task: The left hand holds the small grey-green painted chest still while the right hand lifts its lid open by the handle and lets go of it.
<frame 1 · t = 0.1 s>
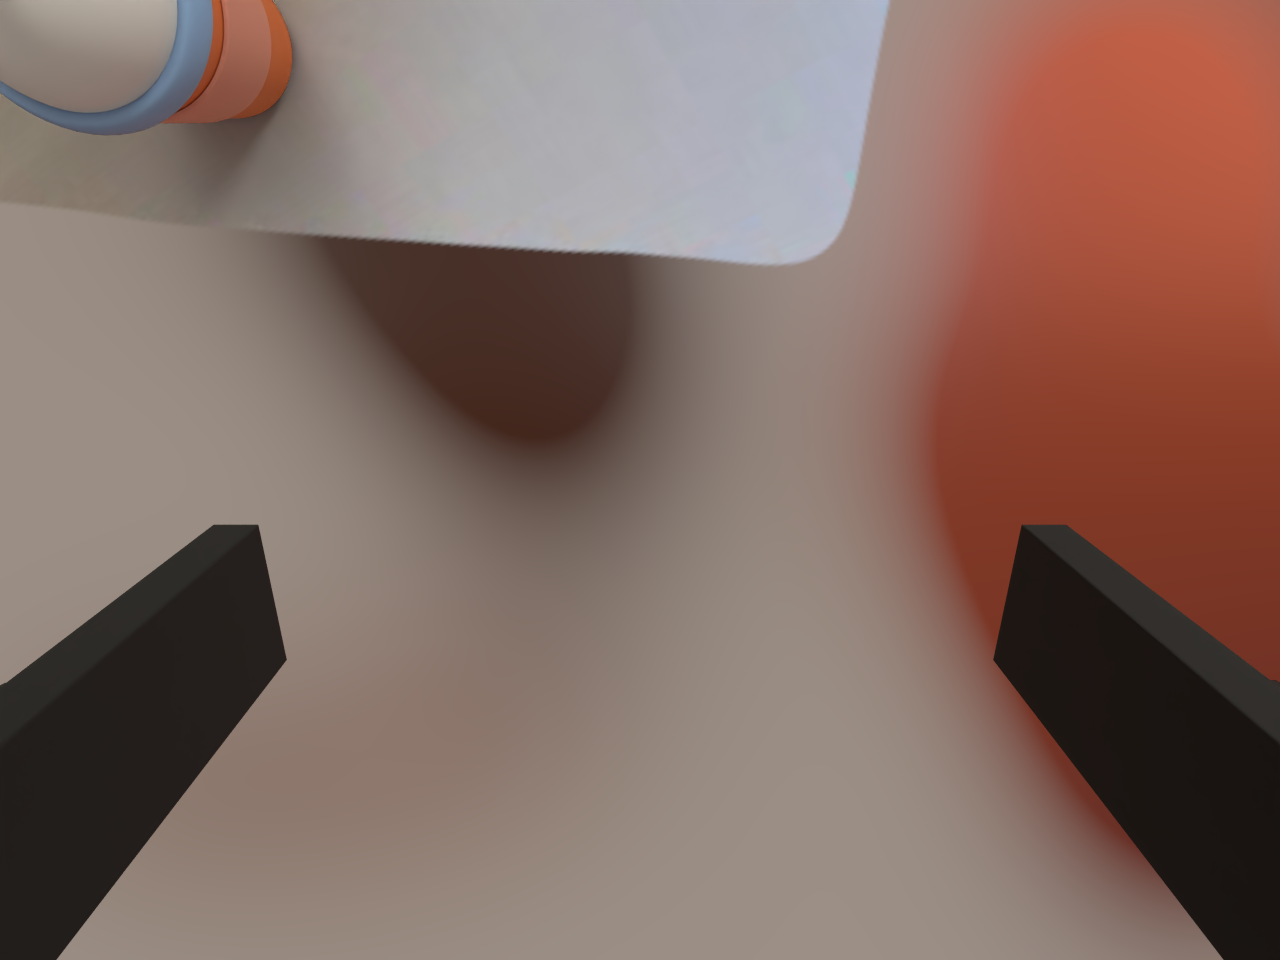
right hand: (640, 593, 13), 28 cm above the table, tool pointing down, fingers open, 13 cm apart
cup with straw: (230, 46, 34), on the table
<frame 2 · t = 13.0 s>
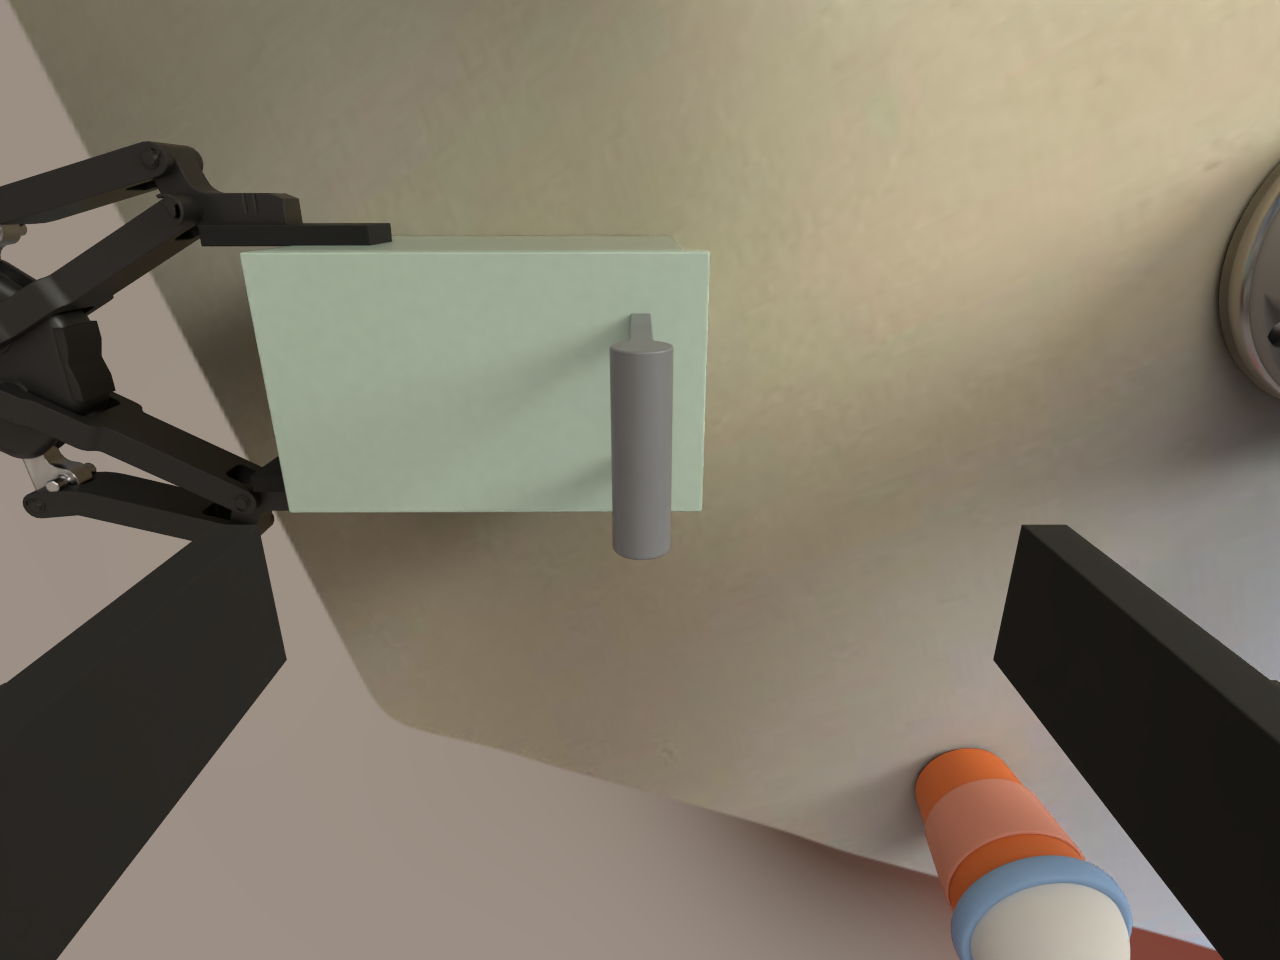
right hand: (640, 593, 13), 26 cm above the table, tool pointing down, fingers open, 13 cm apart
left hand: (396, 360, 31), fingers closed on chest, 9 cm apart
chest: (523, 333, 37), on the table, touching left hand
lid: (465, 416, 23), point 15 cm above the table, hinge at 0.0°
cup with straw: (959, 781, 48), on the table
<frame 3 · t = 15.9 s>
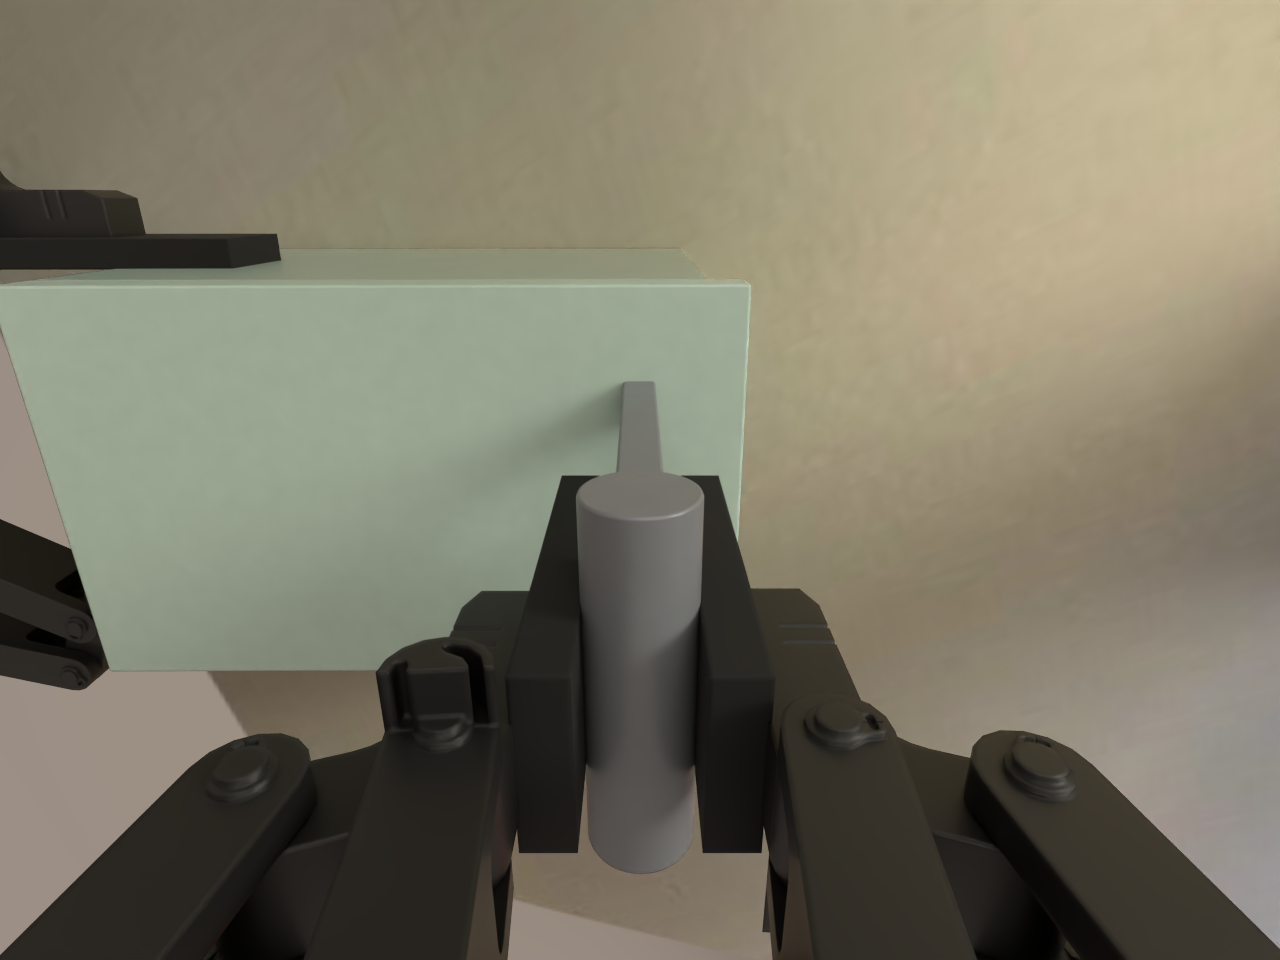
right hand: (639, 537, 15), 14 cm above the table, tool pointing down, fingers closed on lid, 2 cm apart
chest: (482, 378, 28), on the table, touching left hand
lid: (344, 564, 14), point 15 cm above the table, hinge at 0.1°, touching right hand
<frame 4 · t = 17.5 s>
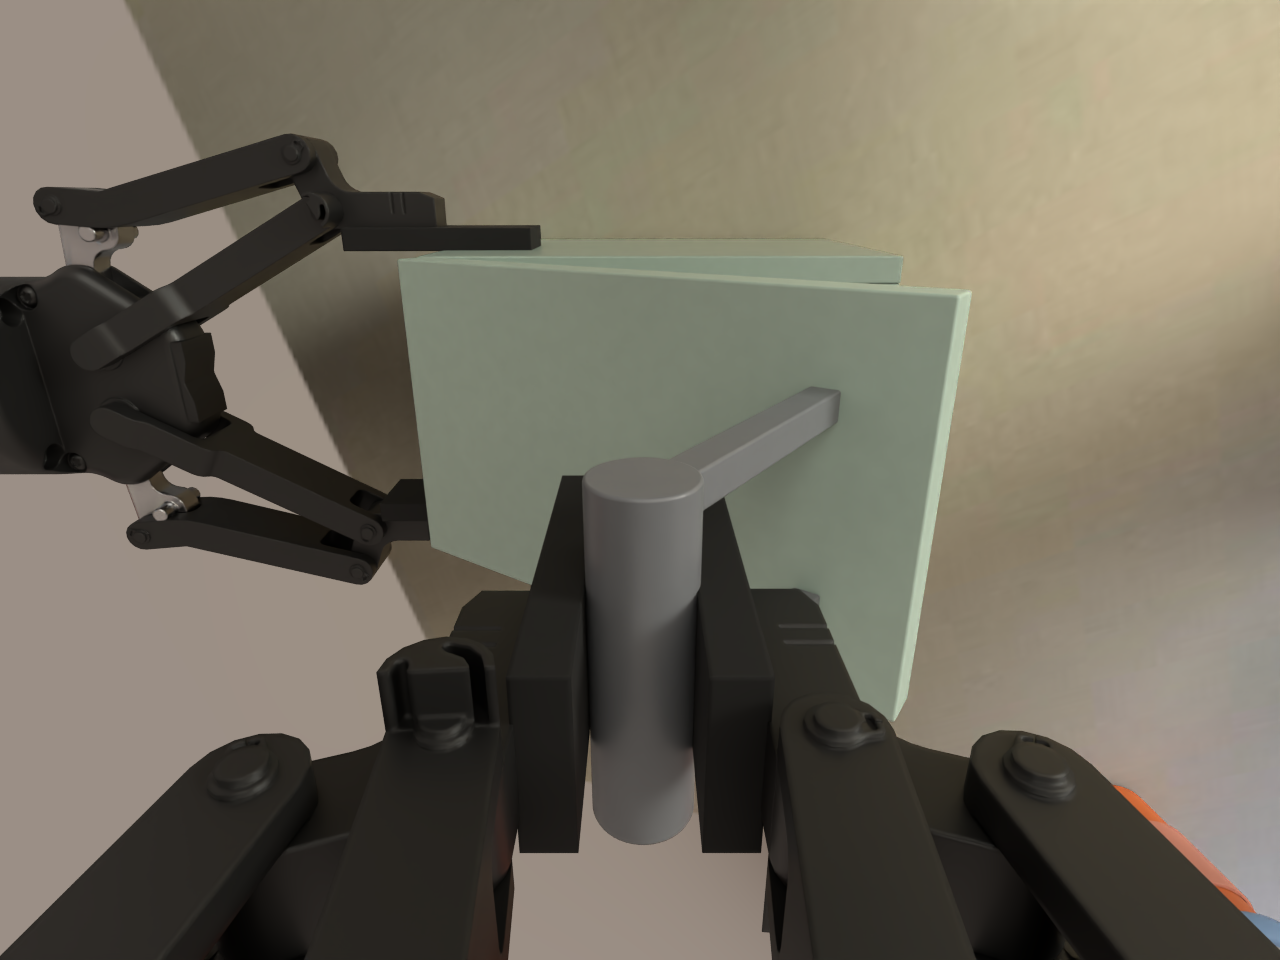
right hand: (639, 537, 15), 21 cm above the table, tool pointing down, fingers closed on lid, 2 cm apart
left hand: (542, 377, 28), fingers closed on chest, 10 cm apart
chest: (656, 345, 34), on the table, touching left hand
lid: (527, 500, 17), point 19 cm above the table, hinge at 33.8°, touching right hand
cup with straw: (1091, 818, 45), on the table
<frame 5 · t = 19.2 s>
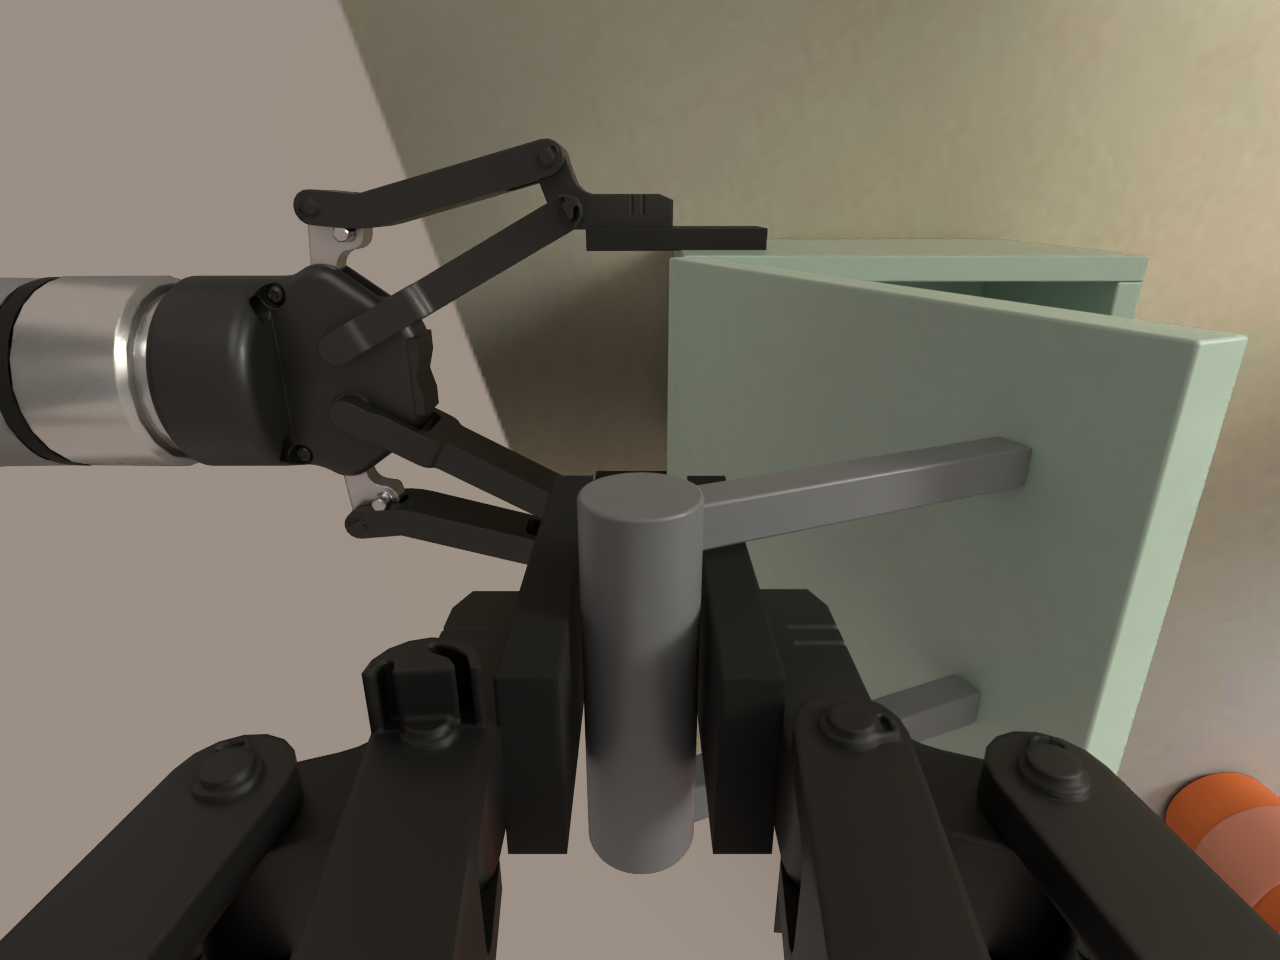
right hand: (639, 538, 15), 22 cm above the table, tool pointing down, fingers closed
left hand: (753, 371, 29), fingers closed on chest, 10 cm apart
chest: (827, 342, 35), on the table, touching left hand
lid: (685, 502, 17), point 20 cm above the table, hinge at 66.0°
cup with straw: (1211, 806, 46), on the table
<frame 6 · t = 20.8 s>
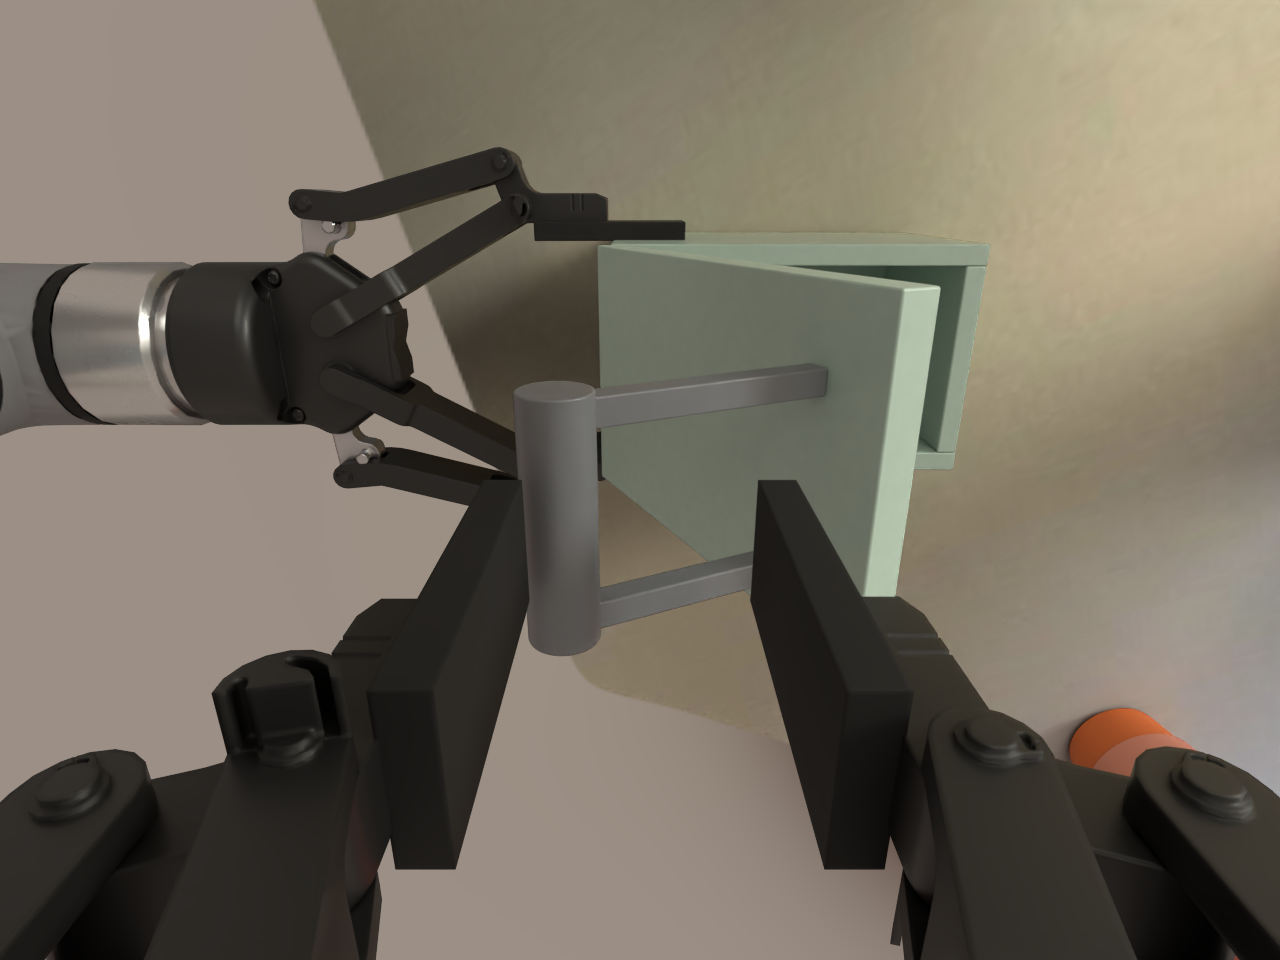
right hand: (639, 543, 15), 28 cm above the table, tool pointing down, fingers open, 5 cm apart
left hand: (680, 344, 34), fingers closed on chest, 9 cm apart
chest: (755, 322, 40), on the table, touching left hand
lid: (604, 429, 22), point 20 cm above the table, hinge at 63.2°
cup with straw: (1110, 740, 51), on the table
when the left hand's fingers open (7 cm above the table, at t = 23.6 s): chest stays where it is, on the table.
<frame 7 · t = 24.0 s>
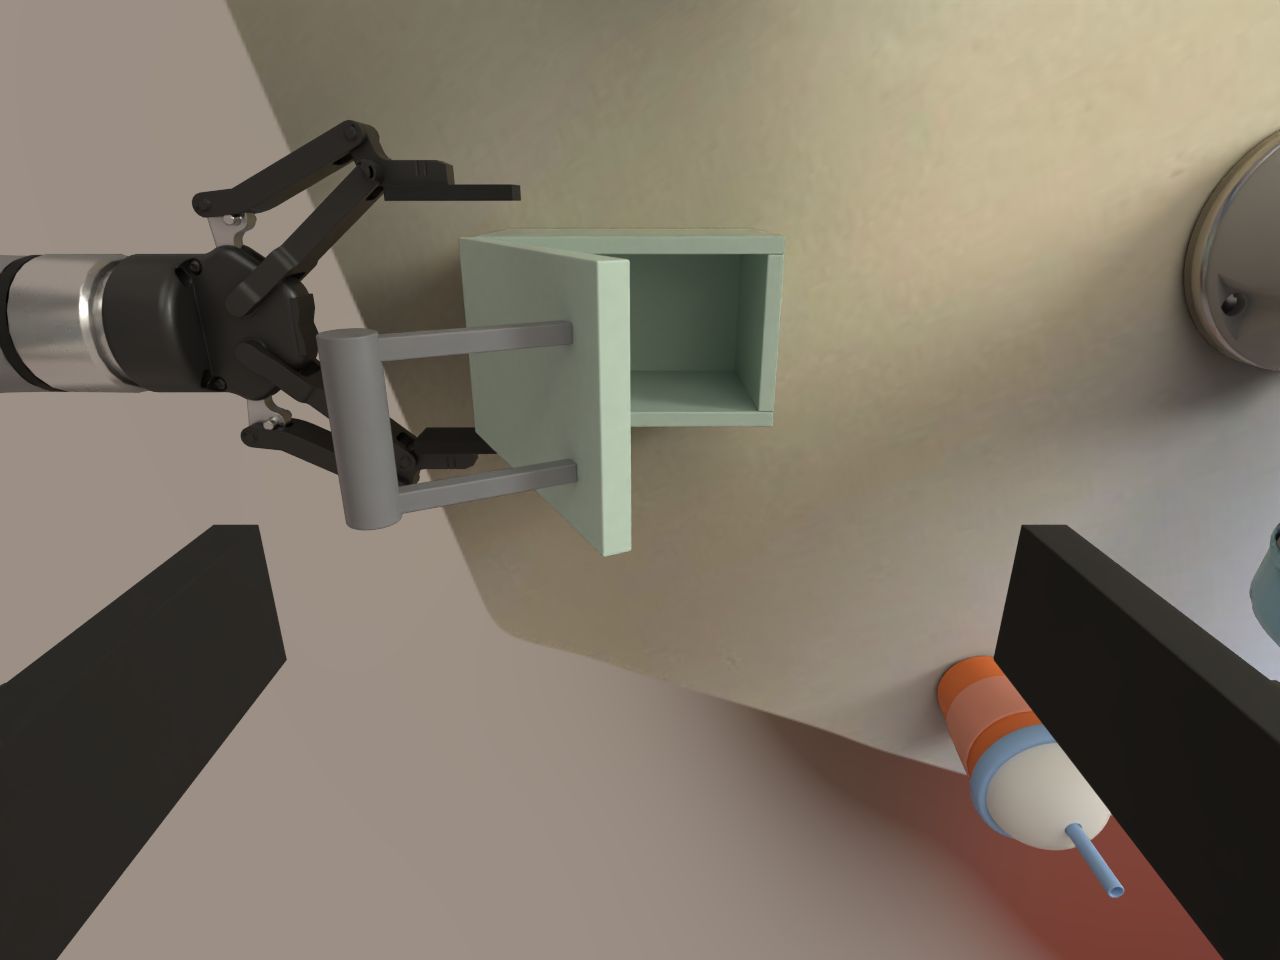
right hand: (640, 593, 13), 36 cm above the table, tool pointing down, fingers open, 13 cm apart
left hand: (525, 324, 40), fingers open, 13 cm apart
chest: (631, 306, 46), on the table
lid: (437, 379, 28), point 20 cm above the table, hinge at 62.7°
cup with straw: (974, 686, 57), on the table
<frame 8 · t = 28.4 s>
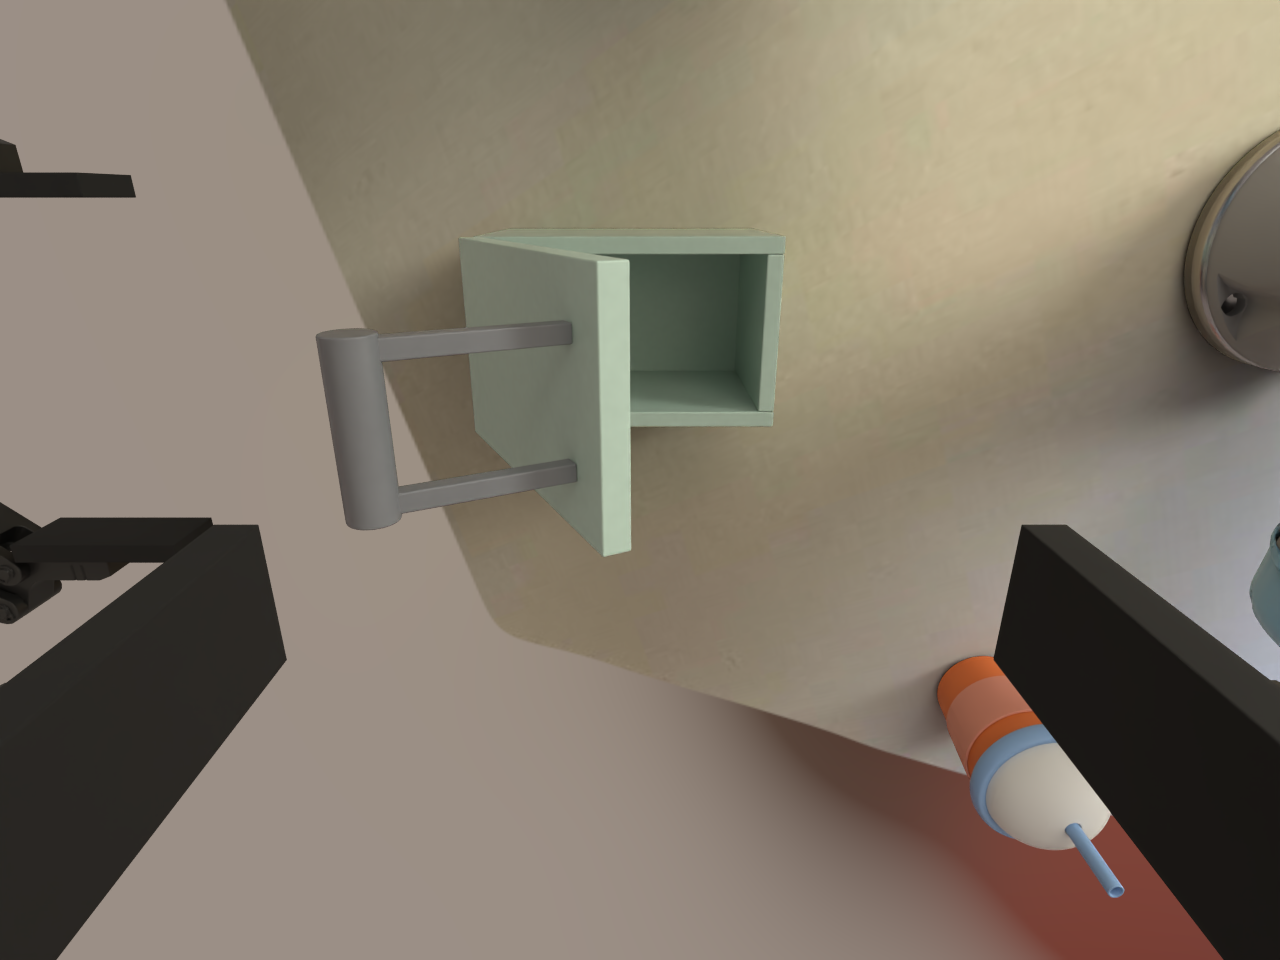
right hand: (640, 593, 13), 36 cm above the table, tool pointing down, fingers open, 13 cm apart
chest: (631, 306, 46), on the table
lid: (437, 379, 28), point 20 cm above the table, hinge at 62.7°
cup with straw: (974, 686, 57), on the table
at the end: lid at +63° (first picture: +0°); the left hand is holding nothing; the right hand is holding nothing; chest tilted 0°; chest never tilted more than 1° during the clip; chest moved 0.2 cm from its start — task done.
